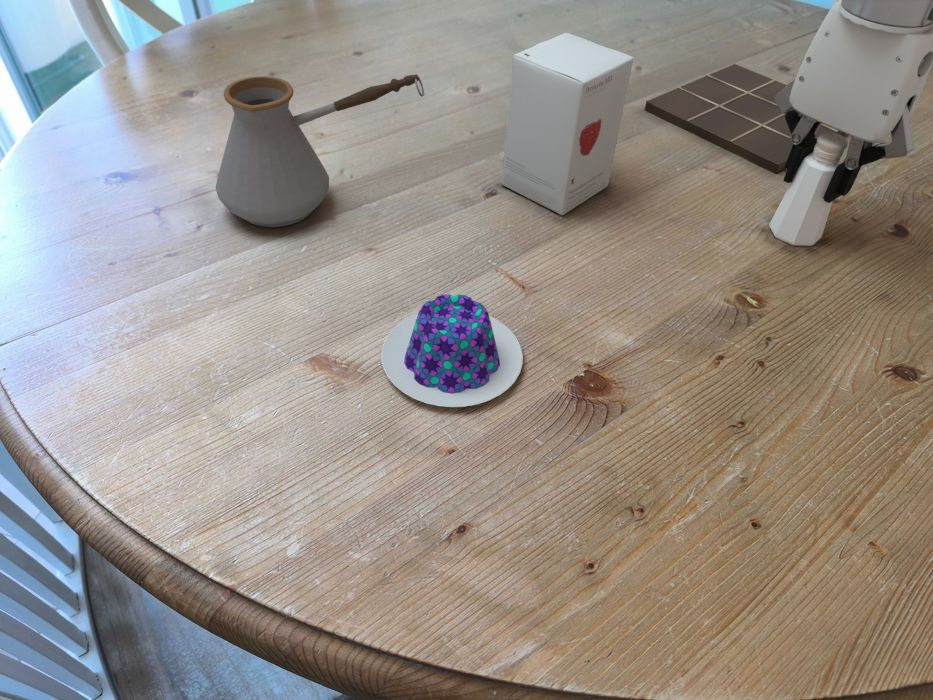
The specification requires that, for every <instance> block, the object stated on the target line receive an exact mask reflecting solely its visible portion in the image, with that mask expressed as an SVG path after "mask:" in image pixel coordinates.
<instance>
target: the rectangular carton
mask: <svg viewBox="0 0 933 700" xmlns="http://www.w3.org/2000/svg"><path fill="white" fill-rule="evenodd" d="M512 57H513V58H512V65H511V74H510V75H511V76H510V77H511V78H510V86H509V87H510V88H509V96H508V99H509V100H508V107H507V108H508V109H507V119H506V127H505V140H504V149H503V160H502V162H503V163H502V172H501V180H500V181H501V183H500V185H502V186H503V187H505V188H508V189H510V190H511V191H514V192H516V193H517V194H519V195H521V196H523V197H525V198H527V199H529V200H531V201H533V202H535V203H537V204H539V205H540V206H543V207H545V208H547V209H549V210H551V211H552V212H554V213H557V214H558V215H560V216H564V215H566V214H568V213H569V212H571V211H572V210H574V209H575V208H577V207H578V206H579V205H581V204H583V203H584V202H586V201H587V200H588V199H591V198H592V197H593V196H595V195H596V194H598V193H600V192H601V191H602V190H604V189H606V188H607V187H608V186H609V183H610V182H609V181H610V176H611V172H612V166H613V162H614V158H615V152H616V148H617V143H618V137H619V133H620V127H621V122H622V117H623V112H624V107H625V103H626V102H625V101H626V97H627V93H628V87H629V83H630V78H631V74H632V68H633V63H634V57H633V56H631V55H628V54H626V53H624V52H621V51H620V50H619V51H618V50H615V49H613V48H610V47H606V46H604V45H601V44H598V43H596V42H593V41H591V40H589V39H585V38H583V37H580V36H578V35H575V34H572V33H569V32H564V33H561V34H560V35H557V36H555V37H553V38H550V39H548V40H544V41H541V42H539V43H537V44H535V45H534V46H531V47H529V48H527V49H525V50H522V51H520V52H517V53H515V54H513V55H512Z"/></svg>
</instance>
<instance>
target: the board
mask: <svg viewBox="0 0 933 700" xmlns="http://www.w3.org/2000/svg"><path fill="white" fill-rule="evenodd" d="M787 85H788V84H785V83H782V82H780V81H778V80H777V79H776V78H774V79H773V78H771V77H768V76H766V75H763V74H761V73H758V72H756V71H753V70H751V69H748V68H746V67H743V66H741V65H738V64H736V63H733V64H731V65H729V66H726V67H723V68H721V69H718V70H716V71H715V72H712V73H709V74H705V76H703V77H700V78H698V79H696V80H694V81H693V80H692V81H691V82H688V83H686V84H683V85H682V86H677V87H676V88H675V89H672V90H669V91H667V92H665V93H662V94H660V95H658V96H655V97H653V98H650V99H649V100H646V102H645V105H644V111H646V112H649V113H650V114H653V115H655V116H657V117H658V118H661V119H662V120H665V121H666V122H669V123H671V124H673V125H675V126H677V127H679V128H681V129H683V130H685V131H688V132H690V133H692V134H694V135H696V136H698V137H700V138H702V139H704V140H706V141H708V142H710V143H712V144H715V145H717V146H718V147H720V148H722V149H724V150H726V151H729V152H730V153H733V154H734V155H737V156H739V157H741V158H743V159H745V160H747V161H750V162H751V163H753V164H755V165H758V166H759V167H762V168H764V169H766V170H768V171H770V172H772V173H773V174H777V173H779V172H781V171H783V170H784V169H786V168H785V164H786V162H787V159H788V156H789V154H790V151H791V148H792V146H793V144H792V143H791V141H790V137H791V135H792V134H791V132H790V129H789V127H788V124H787V122H786V120H785V115H784V114H783V113H782V112H781V110H780V109H779V107H778V106H777V104H776V103H775V101H774V97H775V95H776V94H777V93H779V92H780V91H781V90H782V89H783V88H785V87H786V86H787ZM822 133H835V134H839V135H841V136H843V135H845V134H846V133H844V132H841V131H839V130H837V129H834V128H832V127H830V126H827V125H825V124H823V123H822V124H821V126H820V127H819V129H818V131H817V132H816V134H815V138H816V139H817V138H818V136H819V135H820V134H822Z"/></svg>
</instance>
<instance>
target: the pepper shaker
mask: <svg viewBox="0 0 933 700" xmlns="http://www.w3.org/2000/svg"><path fill="white" fill-rule="evenodd" d="M848 146H849V141H848V139H847V138H846V137H845V136H843V135H842V136H841V135H839V134H835V133H822V134H820V135H819V136H818V138H817V143H816V145H815V147H814V151H813V153H811V154H809V155H808V156H807V157H805V158H804V160H803V161H802V163H801V165H800V167H799V169H798V171H797V172H796V174H795V176H794V178H793V181H792V182H791V183H789V186H788V188H787V190H786V191H785V193H784V195H783V196H782V199H781V201H780V203H779V205H778V206H777V209H776V210H775V212H774V214H773V216H772V218H771V220H770V222H769V224H768V227H769V228H770V230H771V232H772V234H773V236H774V237H775V238H776V239H777V240H780V241H782V242H785V243H786V244H789V245H791V246H793V247H794V246H795V247H797V246H799V247H812V246H814V245H815V244H816V243H817V242H818V241H819V240H820V239H821V238H822V237H823V234H824V231H825V228H826V224H827V220H828V218H829V216H830V215H829V214H830V211H831V208H832V206H833V202H834V200H833V201H832V202H830V203H828V202H825V201H824V199H823V197H824V195H825V192H826V190H827V188H828V185H829V183H830V181H831V178H832V176H833V174H834V171H835V169H836V167H837V166H838V165H839V164H841V163H842V162H841V158H842V156H843V155H844V153H845V150H846V148H847V147H848Z"/></svg>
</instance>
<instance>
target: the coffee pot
mask: <svg viewBox="0 0 933 700" xmlns="http://www.w3.org/2000/svg"><path fill="white" fill-rule="evenodd" d="M418 82H419V84H418ZM414 84H415V87H416V91H417V93H418V95H419V96H420V97H422V98H423V97H424V96H425V89H424V85H423V82H422V79H421V78H420V76H419V75H418V74H409V75H405V76H404V77H403V78H401V79H397V78H392V79H391V80H390V82H388V83H387V82H386V83H383V84H377V85H372V86H369V87H366V88H363V89H361V90H360V91H357V92H354V93H353V94H349V95H347V96H345V97H342V98H340V99H338V100H335V101H334V102H333V103H330V104H327V105H324V106H321V107H318V108H314V109H311V110H308V111H305V112H302V113H300V114H297V115H294V114H292V111H291V110H290V109H289V108H290V107H289V106H290V101H291V99H292V98H293V96H294V88H293V86H292V85H291V83H290V82H288V81H286V80H284V79H283V78H278V77H276V76H275V77H274V76H268V75H267V76H266V75H263V76H261V75H259V76H258V75H257V76H256V75H255V76H248V77H245V78H244V77H243V78H241V79H237V80H235V81H233V82H231V83H230V84H228V85H227V86H226V87H225V88H224V91H223V98H224V100H225V102H226V103H227V104H228V105H230V106H231V108H232V110H233V113H234V114H233V117H232V122H231V125H230V129H229V133H228V136H227V140H226V144H225V148H224V152H223V155H222V156H223V157H222V160H221V163H220V166H219V171H218V175H217V178H216V184H215V191H216V194H217V197H218V200H219V201H220V202H221V203H222V204H223V206H224V207H225V208H226V209H227V210H228V211H229V212H230V213H231V214H234V215H236V216H237V217H239V218H241V219H243V220H244V221H247V222H248V223H250V224H252V225H256V226H260V227H265V228H277V227H278V228H281V227H286V226H291V225H294V224H296V223H299V222H301V221H302V220H304V219H306V218H307V217H308V216H309V215H310V214H311V213H312V212H314V211H315V210H316V208H317V207H319V205H321V204H322V203H323V202H324V199H325V198H326V195H327V193H328V190H329V187H330V176H329V174H328V172H327V169H326V168H325V166H324V165H323V163H322V161H321V160H320V158H319V156H318V154H317V153H316V151H315V150H314V148H313V147H312V144H311V143H310V142H309V140H308V138H307V136H306V134H305V133H304V132H303V130H302V128H301V125H303V124H307V123H309V122H312V121H315V120H317V119H319V118H321V117H324V116H327V115H330V114H332V113H334V112H339V111H343V110H346V109H350V108H353V107H357V106H361V105H364V104H366V103H370V102H374V101H377V100H378V99H380V98H382V97H383V96H385V95H387V94H389V93H391V92H394V93H399V91H401V88H404V87H410V86H412V85H414ZM419 85H420V87H419ZM420 89H421V90H420Z"/></svg>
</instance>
